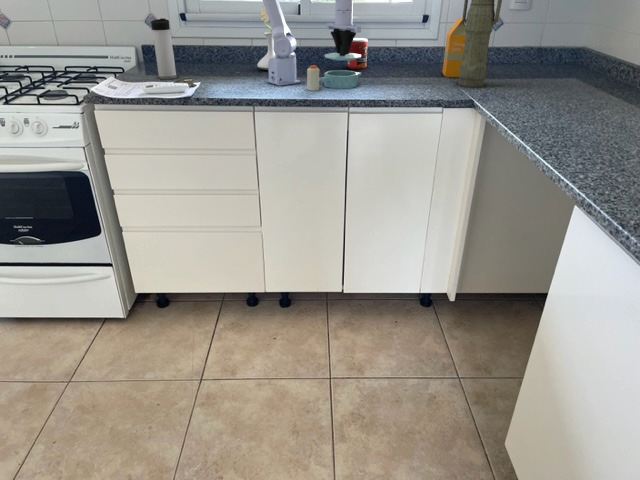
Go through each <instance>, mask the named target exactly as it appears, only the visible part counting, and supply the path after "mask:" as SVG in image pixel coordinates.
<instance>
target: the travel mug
mask: <svg viewBox="0 0 640 480" xmlns="http://www.w3.org/2000/svg"><path fill="white" fill-rule="evenodd" d="M150 25H151V31H152V32H151V33H152V34H151V35H152V40H153V45H154V53H155V59H156V65H157V72H158V78H159V80H174V79H176V78H177V69H176V63H175V62H176V61H175V54H174V47H173V40H172V39H173V38H172V32H171V27H170V20H169V19H166V18H163V17H162V18H159V19H152V20H151V21H150Z"/></svg>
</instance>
